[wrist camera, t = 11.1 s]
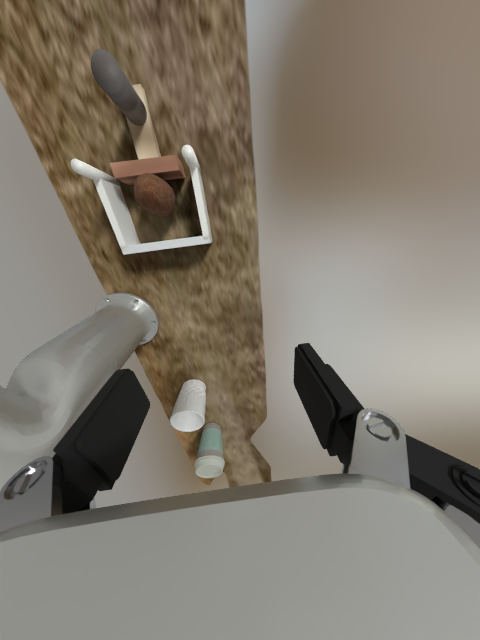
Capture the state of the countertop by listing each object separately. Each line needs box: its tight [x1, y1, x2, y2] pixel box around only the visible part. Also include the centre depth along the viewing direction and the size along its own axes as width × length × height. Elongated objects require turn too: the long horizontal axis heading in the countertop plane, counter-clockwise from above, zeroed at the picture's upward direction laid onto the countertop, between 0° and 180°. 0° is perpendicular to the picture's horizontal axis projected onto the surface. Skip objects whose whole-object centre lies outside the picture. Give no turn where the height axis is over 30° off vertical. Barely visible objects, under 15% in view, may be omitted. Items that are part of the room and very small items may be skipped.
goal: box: [71, 145, 213, 255], centre depth 26 cm, size 11×15×8 cm
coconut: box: [134, 173, 175, 216], centre depth 25 cm, size 5×5×8 cm
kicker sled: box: [91, 50, 185, 185], centre depth 22 cm, size 10×9×8 cm
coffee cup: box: [194, 423, 225, 478], centre depth 53 cm, size 8×8×12 cm
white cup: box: [170, 379, 206, 432], centre depth 45 cm, size 8×8×10 cm
